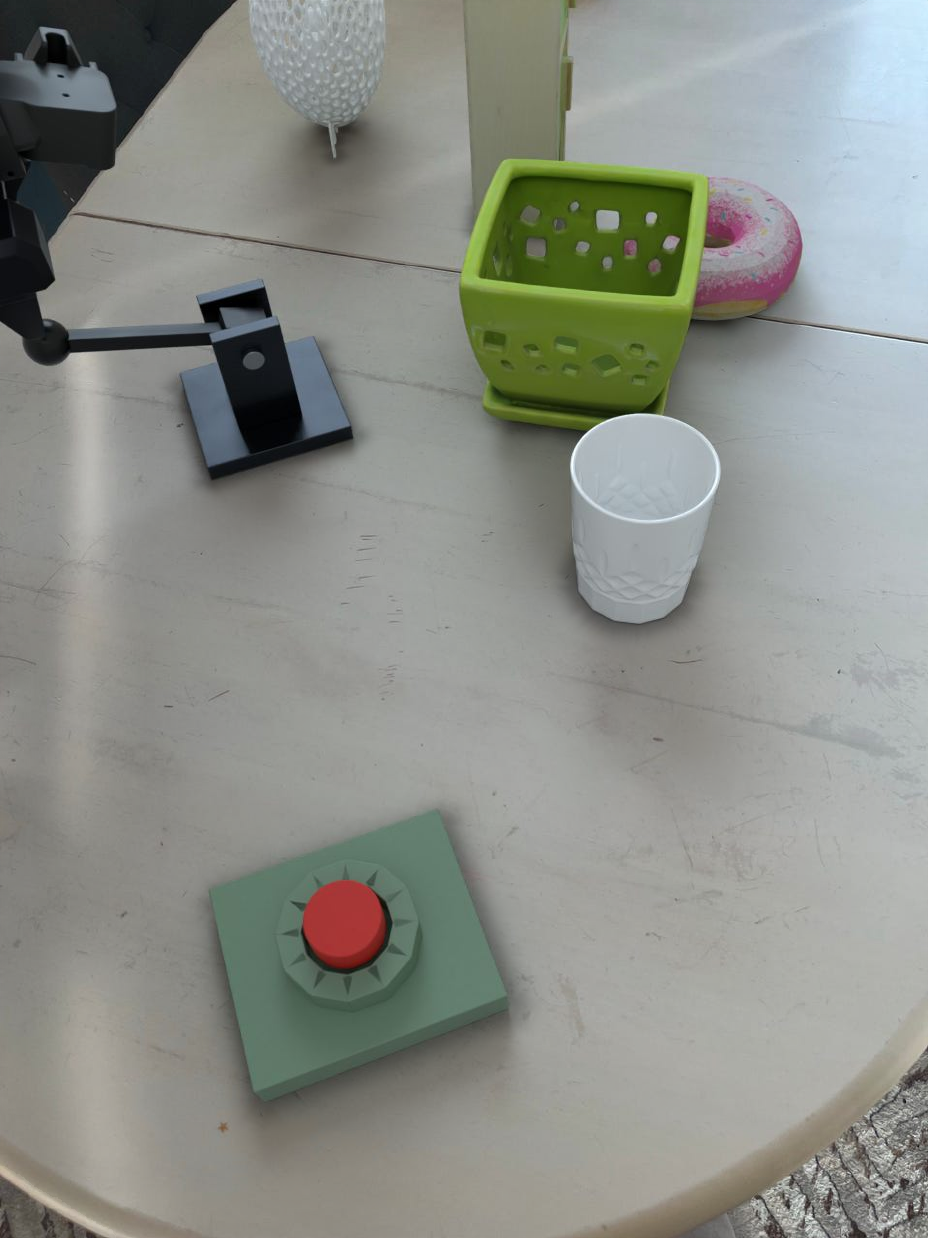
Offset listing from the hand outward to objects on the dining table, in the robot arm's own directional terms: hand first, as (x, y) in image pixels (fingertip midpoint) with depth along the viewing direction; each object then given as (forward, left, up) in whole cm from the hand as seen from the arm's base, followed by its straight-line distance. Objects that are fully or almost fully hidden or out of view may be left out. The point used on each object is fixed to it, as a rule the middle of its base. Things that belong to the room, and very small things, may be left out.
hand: (32, 310), depth 63 cm
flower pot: (+33, -6, -13) cm, 36 cm away
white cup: (+29, -23, -13) cm, 39 cm away
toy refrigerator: (+37, +15, -13) cm, 42 cm away
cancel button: (+7, -39, -9) cm, 41 cm away
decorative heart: (+26, +33, -13) cm, 44 cm away
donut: (+46, +1, -13) cm, 48 cm away
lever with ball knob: (+5, 0, -5) cm, 8 cm away
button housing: (+7, -39, -12) cm, 42 cm away
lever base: (+12, 0, -12) cm, 17 cm away
